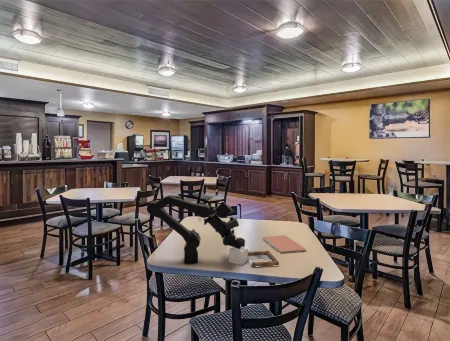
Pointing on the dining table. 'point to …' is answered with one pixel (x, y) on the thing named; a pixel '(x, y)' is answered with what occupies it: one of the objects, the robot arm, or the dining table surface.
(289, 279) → the dining table surface
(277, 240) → the notebook
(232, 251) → the medicine bottle
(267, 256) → the wooden picture frame
